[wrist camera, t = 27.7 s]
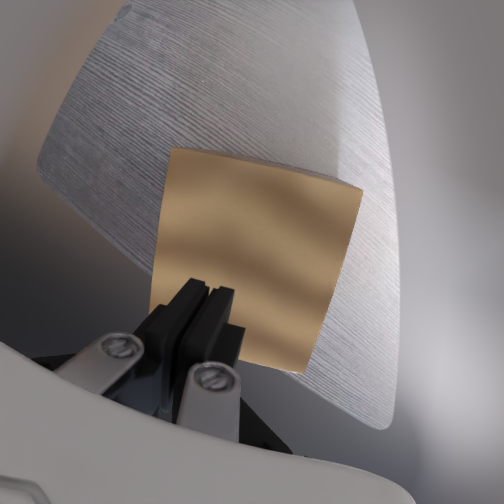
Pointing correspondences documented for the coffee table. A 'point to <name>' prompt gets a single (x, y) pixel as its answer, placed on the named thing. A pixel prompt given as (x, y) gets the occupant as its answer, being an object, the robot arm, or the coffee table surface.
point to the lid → (255, 247)
